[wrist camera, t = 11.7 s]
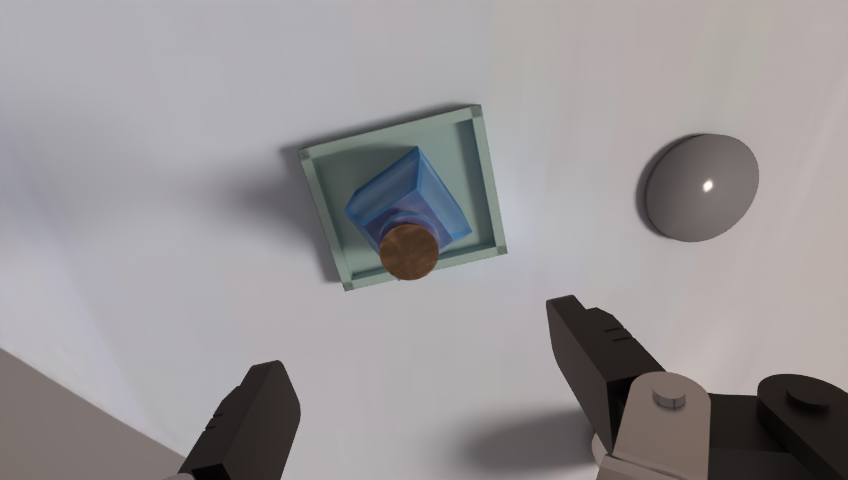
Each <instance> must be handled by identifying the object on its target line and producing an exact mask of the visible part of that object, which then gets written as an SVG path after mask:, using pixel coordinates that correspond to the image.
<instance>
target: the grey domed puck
mask: <svg viewBox="0 0 848 480" xmlns="http://www.w3.org/2000/svg"><path fill="white" fill-rule="evenodd" d="M758 182H759V169H758V164H757V161H756V158H755V156H754V154H753V153H752V151H751V150H750V149H749V147H748V146H746V145H745V144H744V143H743V142H741V141H740V140H738V139H736V138H733V137H730V136H726V135H716V134H704V135H698V136H695V137H691V138H689V139H686V140H684V141H682V142H680V143H679V144H677V145H675V146H674V147H673V148H671V149H670V150H669V151H668V152H667V153H666V154H665V155H664V156H663V157H662V158H661V159H660V160H659V161H658V163H657V164H656V166H655V167H654V169H653V171H652V172H651V174H650V177H649V179H648V182H647V185H646V190H645V208H646V212H647V215H648V217H649V219H650V221H651V222H652V224H653V225H654V226H655V227H656V228H657V229H658V230H659V231H660V232H662V233H663V234H665V235H667V236H669V237H671V238H673V239H676V240H679V241H683V242H699V241H705V240H708V239H711V238H714V237H716V236H718V235H720V234H722V233H724V232H726V231H727V230H728V229H730V228H731V227H732V226H734V225H735V224H736V223H737V222H738V221H739V220H740V219H741V218H742V217H743V215H744V214H745V213H746V212H747V210H748V209H749V207H750V206H751V204H752V202H753V200H754V197H755V194H756V192H757V188H758Z"/></svg>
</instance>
